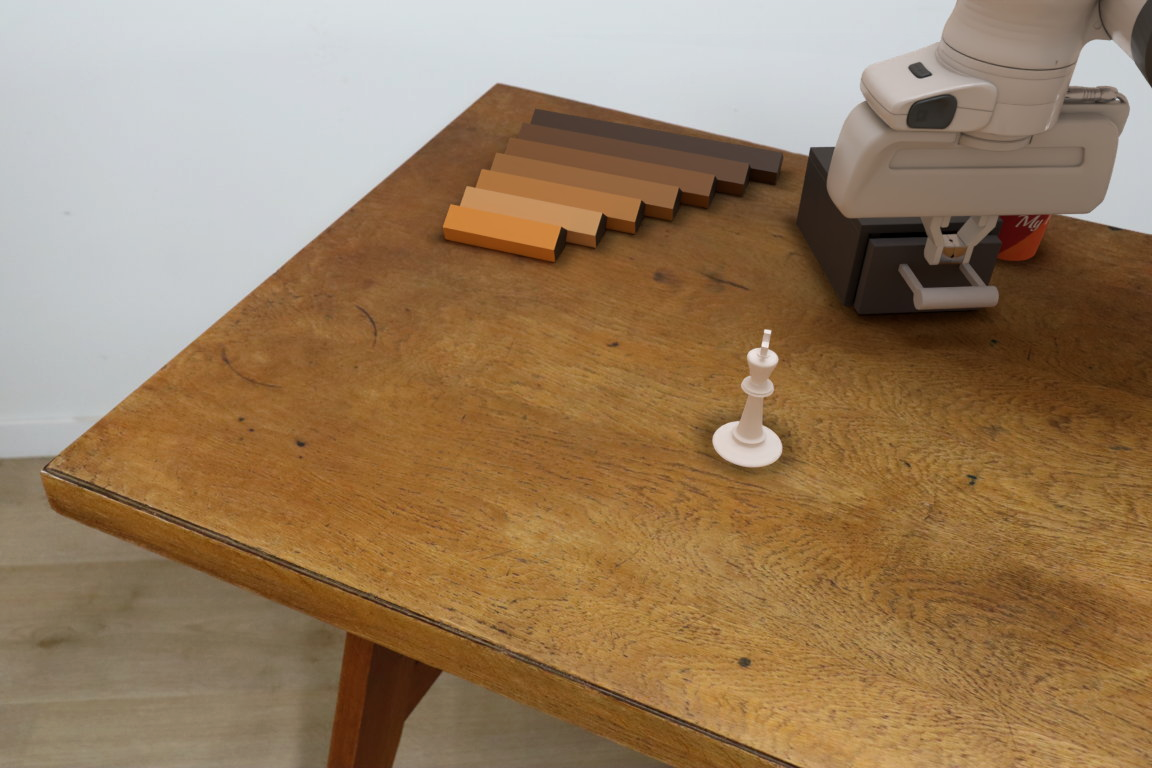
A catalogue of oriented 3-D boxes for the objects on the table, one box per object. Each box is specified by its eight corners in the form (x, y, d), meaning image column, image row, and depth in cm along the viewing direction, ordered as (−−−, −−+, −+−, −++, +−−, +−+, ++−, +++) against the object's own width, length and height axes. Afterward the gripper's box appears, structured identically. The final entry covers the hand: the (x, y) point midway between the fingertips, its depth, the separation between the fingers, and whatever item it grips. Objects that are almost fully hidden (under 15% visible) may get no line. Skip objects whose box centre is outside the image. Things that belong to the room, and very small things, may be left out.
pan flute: (780, 176, 109) (540, 132, 114) (785, 144, 107) (541, 101, 112) (727, 308, 90) (443, 248, 96) (733, 272, 88) (442, 213, 93)
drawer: (1009, 348, 86) (1033, 279, 82) (880, 353, 84) (899, 283, 80) (923, 232, 100) (940, 168, 96) (811, 235, 98) (824, 171, 94)
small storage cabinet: (976, 307, 92) (1003, 221, 87) (841, 312, 90) (861, 225, 85) (915, 225, 102) (937, 144, 97) (794, 228, 101) (810, 146, 96)
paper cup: (1035, 282, 95) (1089, 131, 87) (947, 256, 98) (990, 107, 90) (1053, 244, 101) (1105, 98, 92) (969, 220, 104) (1012, 76, 95)
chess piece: (705, 467, 75) (723, 346, 68) (715, 422, 78) (733, 304, 72) (778, 481, 74) (803, 360, 68) (785, 435, 78) (809, 317, 71)
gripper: (1114, 68, 79) (1053, 236, 88) (840, 68, 77) (805, 242, 85) (1162, 105, 74) (1092, 279, 83) (871, 106, 72) (830, 287, 80)
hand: (945, 260), depth 84 cm, fingers closed
